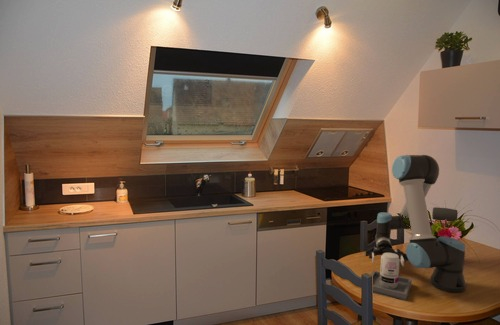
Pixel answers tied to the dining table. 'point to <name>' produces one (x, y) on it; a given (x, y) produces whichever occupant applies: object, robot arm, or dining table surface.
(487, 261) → the dining table surface
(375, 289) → the tray
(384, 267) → the supplement can
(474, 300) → the dining table surface
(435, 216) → the rubber mallet
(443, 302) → the dining table surface
